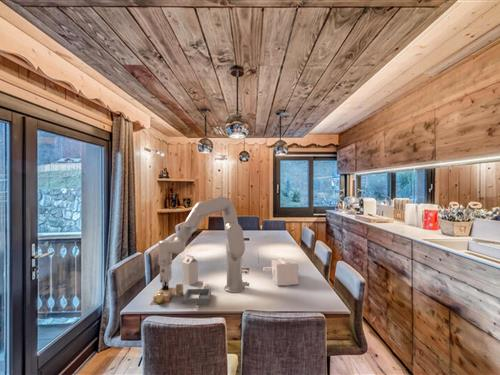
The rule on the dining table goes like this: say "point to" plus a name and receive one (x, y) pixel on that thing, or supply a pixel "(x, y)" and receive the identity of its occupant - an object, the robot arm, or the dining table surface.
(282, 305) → the dining table surface
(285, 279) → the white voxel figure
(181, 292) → the dowel
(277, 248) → the dining table surface
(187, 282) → the milk carton
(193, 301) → the tray
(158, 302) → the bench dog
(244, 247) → the robot arm
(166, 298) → the thick square wood block
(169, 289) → the board
